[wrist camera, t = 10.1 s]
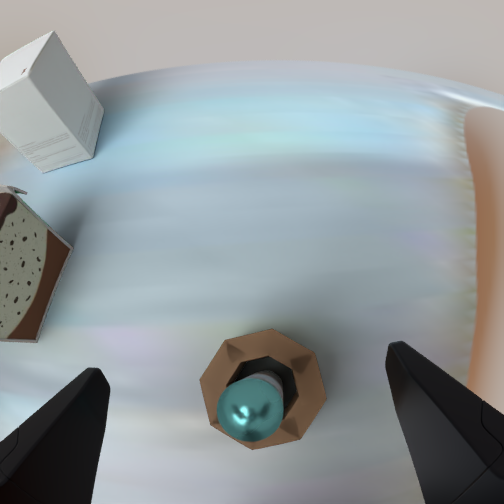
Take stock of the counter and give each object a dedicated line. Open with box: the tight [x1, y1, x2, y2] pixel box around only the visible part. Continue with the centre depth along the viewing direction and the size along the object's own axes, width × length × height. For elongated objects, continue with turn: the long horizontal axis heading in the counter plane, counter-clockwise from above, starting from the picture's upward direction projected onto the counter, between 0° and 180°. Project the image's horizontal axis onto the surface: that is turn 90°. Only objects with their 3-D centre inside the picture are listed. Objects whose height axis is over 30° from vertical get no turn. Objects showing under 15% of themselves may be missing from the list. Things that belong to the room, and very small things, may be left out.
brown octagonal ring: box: [200, 329, 327, 450], centre depth 19 cm, size 7×7×4 cm
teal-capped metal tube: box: [217, 370, 283, 442], centre depth 16 cm, size 2×2×11 cm
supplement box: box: [0, 31, 104, 173], centre depth 24 cm, size 7×7×13 cm
